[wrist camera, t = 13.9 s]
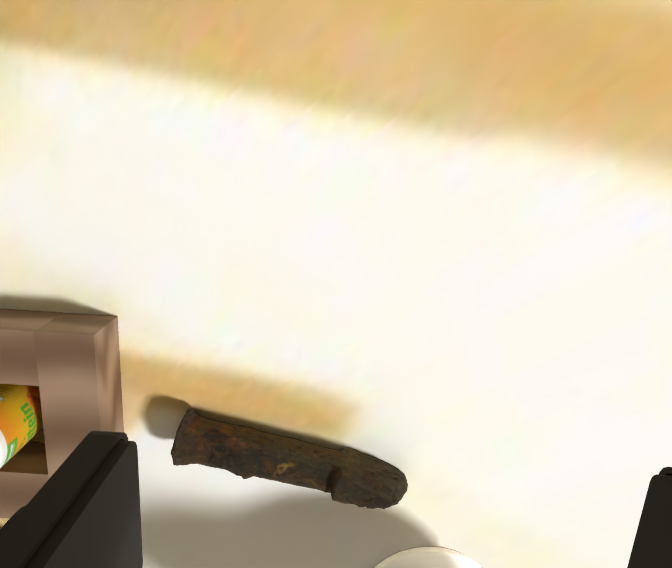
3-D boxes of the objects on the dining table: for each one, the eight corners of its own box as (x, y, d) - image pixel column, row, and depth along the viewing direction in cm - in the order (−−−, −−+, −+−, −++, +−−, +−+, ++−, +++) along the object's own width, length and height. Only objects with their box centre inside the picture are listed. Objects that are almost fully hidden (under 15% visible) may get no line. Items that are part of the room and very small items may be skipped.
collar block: (-88, 303, 41) (-133, 320, 37) (117, 316, 41) (93, 335, 37) (-59, 479, 45) (-96, 511, 41) (127, 491, 45) (106, 524, 41)
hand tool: (179, 441, 44) (161, 476, 40) (189, 400, 43) (171, 431, 39) (393, 497, 45) (399, 536, 41) (408, 458, 44) (415, 495, 40)
